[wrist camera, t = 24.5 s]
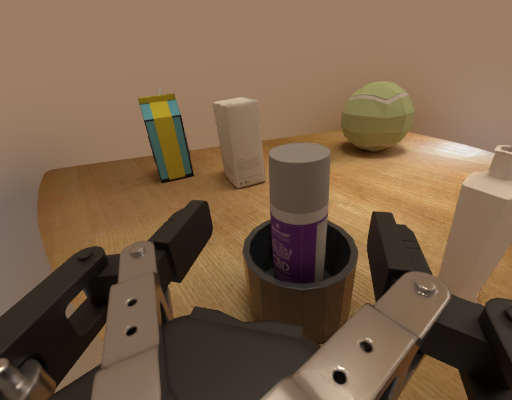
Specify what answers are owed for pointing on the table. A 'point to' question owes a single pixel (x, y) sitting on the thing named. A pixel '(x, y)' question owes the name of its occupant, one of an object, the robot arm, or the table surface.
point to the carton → (166, 136)
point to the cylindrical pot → (302, 295)
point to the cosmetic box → (240, 140)
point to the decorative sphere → (377, 116)
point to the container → (299, 210)
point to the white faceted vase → (479, 227)
